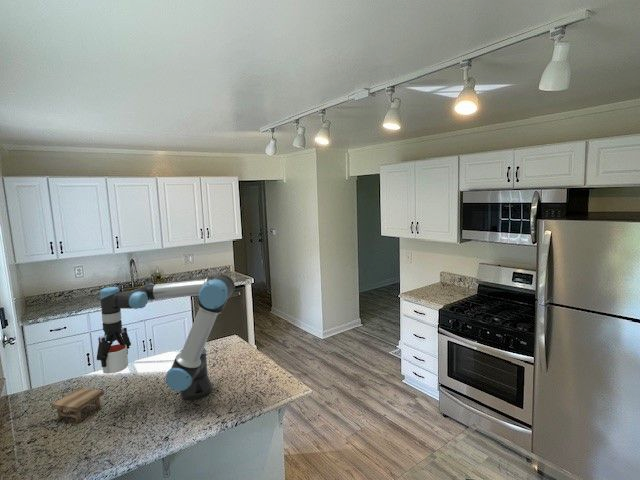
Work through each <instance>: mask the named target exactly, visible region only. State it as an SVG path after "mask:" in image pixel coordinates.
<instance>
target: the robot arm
mask: <svg viewBox="0 0 640 480" xmlns="http://www.w3.org/2000/svg"><path fill="white" fill-rule="evenodd" d="M235 288H236V285H235V281H234V280H233V278H232V277H230V276H229V275H226V274H217V275H211V276H207V277H206V278H205V279H204V278H202V279H193V280H184V281H183V280H182V281H175V282H166V283H156V284H154V283H147V284H144V285H142V286H140V287H138V288H136V289H132V290H131V291H120V288H119V287H117V286H108V287H105V288H102V289H100V291H99V297H100V298H99V300H100V308H101V321H102V330H103V332H104V335H103V336H100V337H98V338H97V339H98V347H97V352H96V361H100V363H101V368H102V373H103V374H107V375H108V374H111V373H110V372H109V360H108V359H107V356H108V353H109V350H110V347H111V346H112V345H114V342H115V341H116V342H117V343H118V344H120V345H126V346H127V356H128V354H129V349H130V346H131V345H132V343H131V339H130V337H129V334H128V329H127V327H123V323H122V311H121V309H123V310H124V309H127V310H128V309H130V310H131V309H133V310H137V309H143V308H146V305H147V304H148V301H157V300H164V299H165V300H166V299H176V298H184V297H185V298H187V297H196V296H198V302H197V307H198V311H197V313H196V315H195V318H194V321H193V323H192V325H191V328H190V330H189V333H188V335H187V338H186V339H185V340H186V341H185V342H184V345H183V348H182V349H181V351H180V352H179V353H177V354H176V356H175V357H174V361H173V363H172V364H171V368H169V369H168V371H167V373H166V374H165V376H164V377H165V383H166V384H167V386H168V388H170V389H172V391H176V392H179V393H180V395H179V396H180V397H181V399H184V400H189V401H192V400H198V399H199V400H200V399H202V398H205V397H206V396H208V395H209V394H210V393H212V390H213V385H212V381H211V379H210V377H209V375H208V364H207V363H208V362H207V361H208V360H207V350H206V348H205V346H206V343H207V341H208V339H209V337H210V334H211V331H212V328H213V327H214V324H215V322H216V319H217V317H218V315H220V314H221V313H223V311H224V308H225V307H226V304H227V302H228V299H230V297H232V295H233V294H234V292H235V290H236V289H235Z"/></svg>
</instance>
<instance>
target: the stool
mask: <svg viewBox="0 0 640 480" xmlns="http://www.w3.org/2000/svg"><path fill="white" fill-rule="evenodd" d="M104 394H105V392H104V390H103V389H100V390H99V389H93V388H84V387H78V388H77V389H75V390H73V391H71V392H70V393H68V394H66V395H64V396H63V397H61V398H60V399H58V400H56V401H54V402H53V403H51V409H53V410H56V412H57V420H58V421H62V420H64V418H66V417H68V418H72V419H73V418H74V419H75V422H76V424H78V423H81V422H82V420H83V419H82V413H81V412H82V411H81V410H82V409H84V408H85V407H87V406H88V405H91V406H94V407H95V410H96V411H97V410H100V409H101V408H102V407H101V400H100V399H101V397H103V396H104ZM64 411H69V412H64ZM72 412H73V413H72Z"/></svg>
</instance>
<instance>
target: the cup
mask: <svg viewBox="0 0 640 480" xmlns="http://www.w3.org/2000/svg"><path fill="white" fill-rule="evenodd" d="M107 359H108V360H109V372H110V373H109V374H115V373H119V372H122V371H124V370H126V369H127V368H128V366H129V359H128V355H127V346H126V345H120V344H119V343H118V344H112V345H111V347H110V350H109V353H108V356H107Z"/></svg>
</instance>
